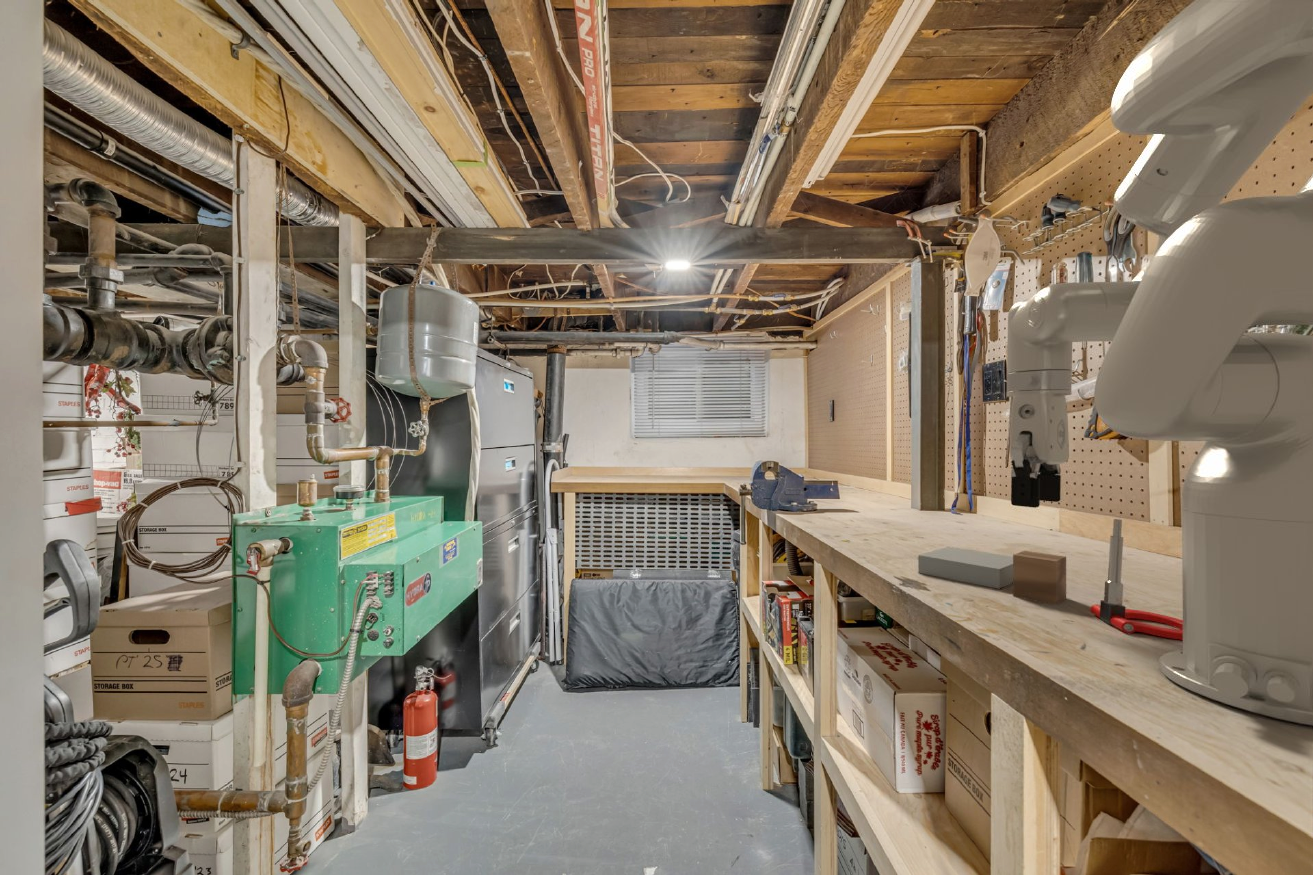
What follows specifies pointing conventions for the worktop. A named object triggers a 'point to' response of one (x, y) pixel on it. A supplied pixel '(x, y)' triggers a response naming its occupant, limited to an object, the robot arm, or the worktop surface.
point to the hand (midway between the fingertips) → (1036, 503)
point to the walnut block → (1039, 577)
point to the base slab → (968, 566)
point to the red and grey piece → (1112, 602)
